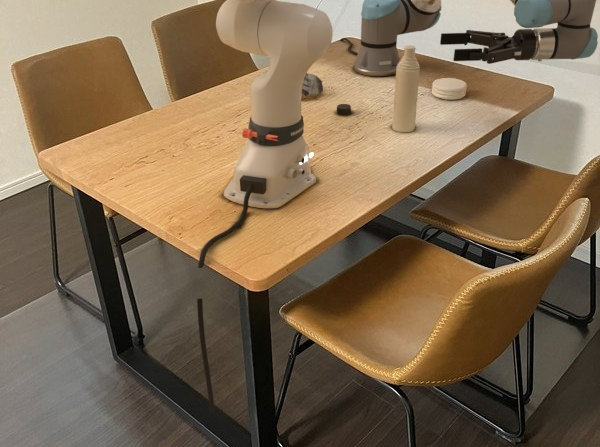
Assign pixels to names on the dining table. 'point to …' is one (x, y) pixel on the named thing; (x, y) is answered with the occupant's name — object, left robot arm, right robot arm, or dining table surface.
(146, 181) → the dining table surface
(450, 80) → the cream round flat disc
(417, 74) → the bottle
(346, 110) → the cap
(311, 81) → the rock
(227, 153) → the dining table surface
